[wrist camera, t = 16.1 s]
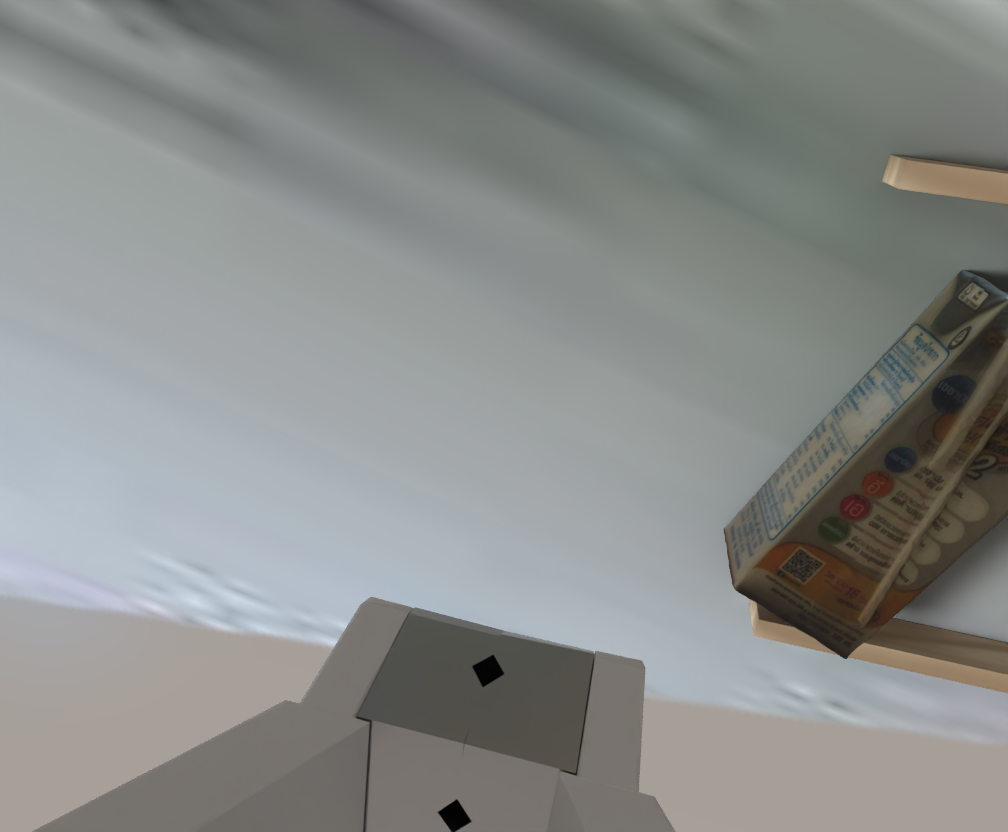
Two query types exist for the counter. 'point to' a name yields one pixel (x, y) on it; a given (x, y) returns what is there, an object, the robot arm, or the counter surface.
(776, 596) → the beverage carton
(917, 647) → the frame
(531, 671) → the robot arm
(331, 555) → the counter surface
